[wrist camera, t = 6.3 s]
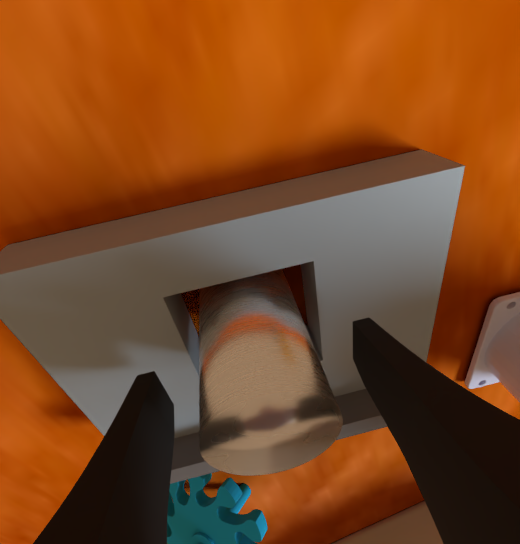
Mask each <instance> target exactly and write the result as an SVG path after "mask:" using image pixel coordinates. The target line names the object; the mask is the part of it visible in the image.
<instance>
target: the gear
mask: <svg viewBox="0 0 520 544" xmlns="http://www.w3.org/2000/svg"><path fill="white" fill-rule="evenodd" d="M211 476H212V474H211V473H209V474H206V475H202V476H198V477H194V478H191V479H188V481H189V485H190V496H189V495H188V494H187V493H186V492H185V490H184V483H185V481H186V480H183V481H179V482H175V483H172V484H170V489H169V500H168V514H167V544H257V543H255V542H261V541H262V539H263V537H264V535H265V533H266V531H267V523H266V520H265V517H264V515H263V513H262V511H260V510H258V509H255V510H252V511H251V512H250V513H248V514H244V515H240V514H238V512H239V511H240V509H241V508H242V506H243V505H244V503H245V502H246V500H247V499H248V497H249V496H250V494H251V490H250V488H249V486H248V485H246V484H242V485H240V486H238V485H237V484H236V483H235V482H234V481H233V479H232V478H227V479H226V480H225V482H224V483H223V484H222V485H221V486H220V488H219V489H218V492H217V496H216V497H213V498H210V497H208V496H207V495H206V494H205V493H204V491H203V487H204V486H205V485H206V484H207V483H208V482H209V481H210V479H211ZM172 499H173V501H172Z"/></svg>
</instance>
